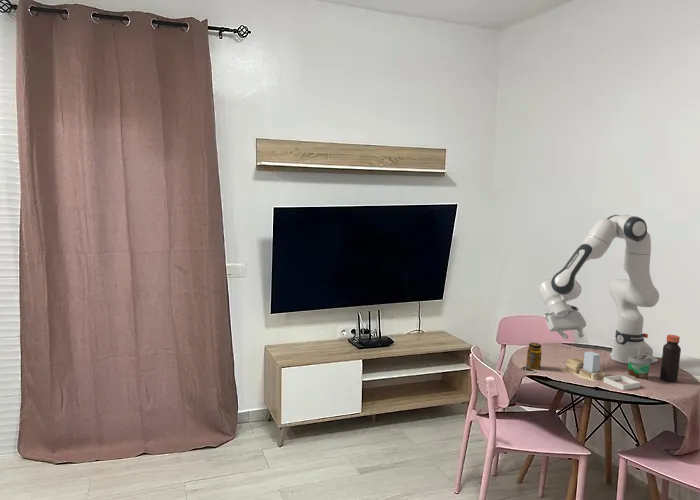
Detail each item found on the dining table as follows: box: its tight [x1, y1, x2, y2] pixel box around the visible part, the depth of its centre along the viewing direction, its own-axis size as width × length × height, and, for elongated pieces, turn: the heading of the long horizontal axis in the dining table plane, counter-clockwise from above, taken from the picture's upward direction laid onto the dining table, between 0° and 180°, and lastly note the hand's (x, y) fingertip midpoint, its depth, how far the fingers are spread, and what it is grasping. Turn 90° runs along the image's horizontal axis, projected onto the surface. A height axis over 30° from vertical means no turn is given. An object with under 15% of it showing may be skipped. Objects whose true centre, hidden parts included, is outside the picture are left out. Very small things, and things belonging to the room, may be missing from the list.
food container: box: [627, 354, 653, 381], centre depth 255 cm, size 12×6×10 cm, turn 117°
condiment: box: [519, 342, 542, 374], centre depth 262 cm, size 7×8×12 cm
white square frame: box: [602, 374, 641, 391], centre depth 245 cm, size 10×10×3 cm
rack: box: [558, 366, 609, 383], centre depth 257 cm, size 14×18×4 cm
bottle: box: [659, 334, 682, 383], centre depth 254 cm, size 7×7×20 cm
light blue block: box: [583, 351, 601, 373], centre depth 254 cm, size 4×5×10 cm
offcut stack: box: [564, 357, 584, 373], centre depth 261 cm, size 10×6×4 cm, turn 114°
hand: (574, 337), depth 263 cm, fingers open, 8 cm apart
